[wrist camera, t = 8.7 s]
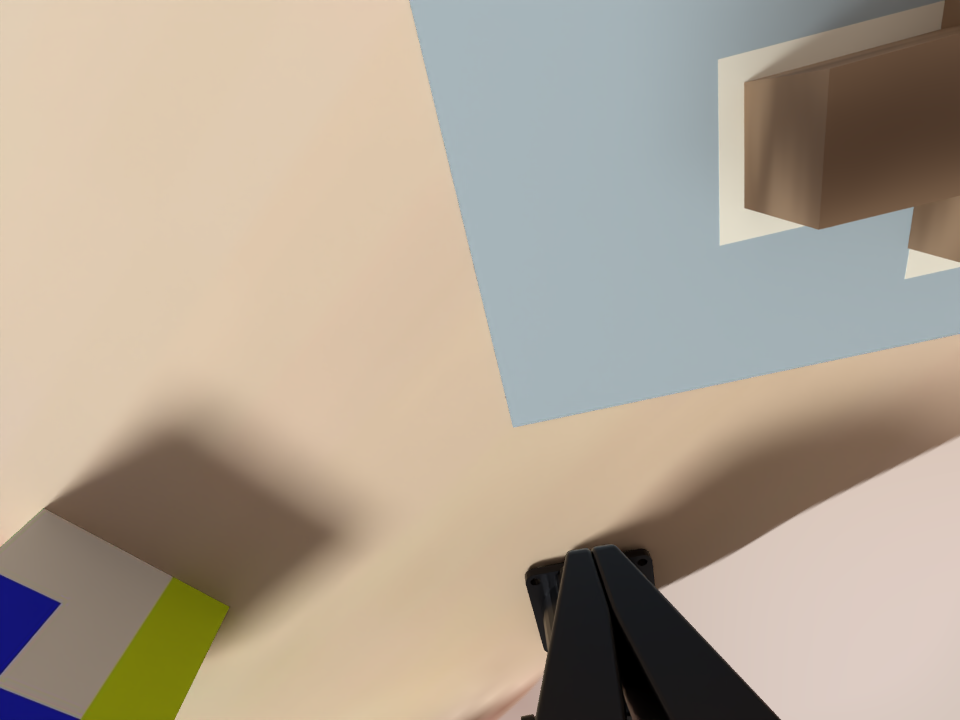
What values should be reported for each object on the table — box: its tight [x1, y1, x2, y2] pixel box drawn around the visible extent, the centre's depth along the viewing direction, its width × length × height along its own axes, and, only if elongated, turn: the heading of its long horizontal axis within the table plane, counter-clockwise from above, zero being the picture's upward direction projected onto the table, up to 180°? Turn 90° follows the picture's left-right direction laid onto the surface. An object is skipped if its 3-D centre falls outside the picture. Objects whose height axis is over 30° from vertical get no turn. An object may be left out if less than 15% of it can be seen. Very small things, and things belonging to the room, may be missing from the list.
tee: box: [744, 0, 960, 262], centre depth 14 cm, size 10×10×4 cm
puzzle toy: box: [0, 508, 229, 720], centre depth 21 cm, size 10×10×10 cm
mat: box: [409, 0, 960, 427], centre depth 16 cm, size 18×22×1 cm
